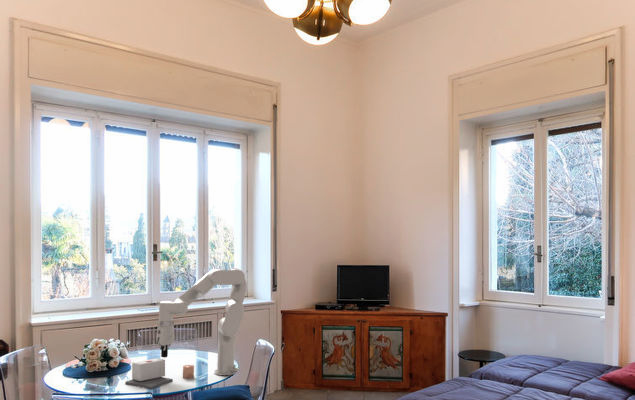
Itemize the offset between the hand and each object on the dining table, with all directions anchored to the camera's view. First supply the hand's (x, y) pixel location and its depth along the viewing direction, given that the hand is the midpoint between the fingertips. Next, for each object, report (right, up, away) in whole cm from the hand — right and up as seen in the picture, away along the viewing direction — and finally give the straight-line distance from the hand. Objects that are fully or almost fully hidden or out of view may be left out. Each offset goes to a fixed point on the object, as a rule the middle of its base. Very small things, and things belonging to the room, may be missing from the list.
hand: (164, 356), depth 290 cm
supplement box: (-2, -5, 0) cm, 6 cm away
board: (-5, -11, -11) cm, 16 cm away
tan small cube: (+13, -12, +1) cm, 18 cm away
